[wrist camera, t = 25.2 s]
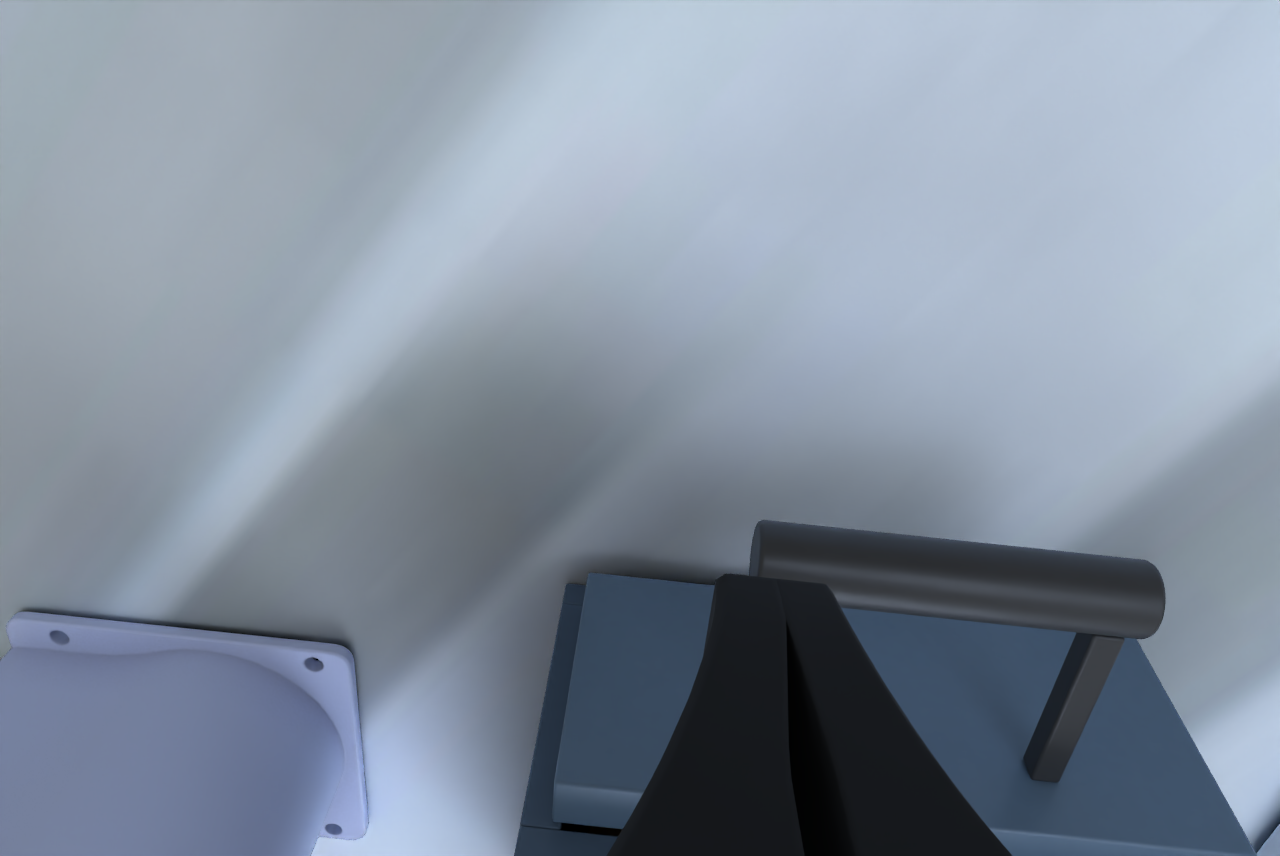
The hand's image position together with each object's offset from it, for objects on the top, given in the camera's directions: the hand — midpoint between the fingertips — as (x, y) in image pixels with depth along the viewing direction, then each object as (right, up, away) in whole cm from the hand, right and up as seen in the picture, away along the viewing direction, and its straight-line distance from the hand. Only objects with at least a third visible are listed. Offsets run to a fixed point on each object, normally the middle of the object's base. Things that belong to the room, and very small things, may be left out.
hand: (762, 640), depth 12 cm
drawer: (+4, -5, +13) cm, 15 cm away
